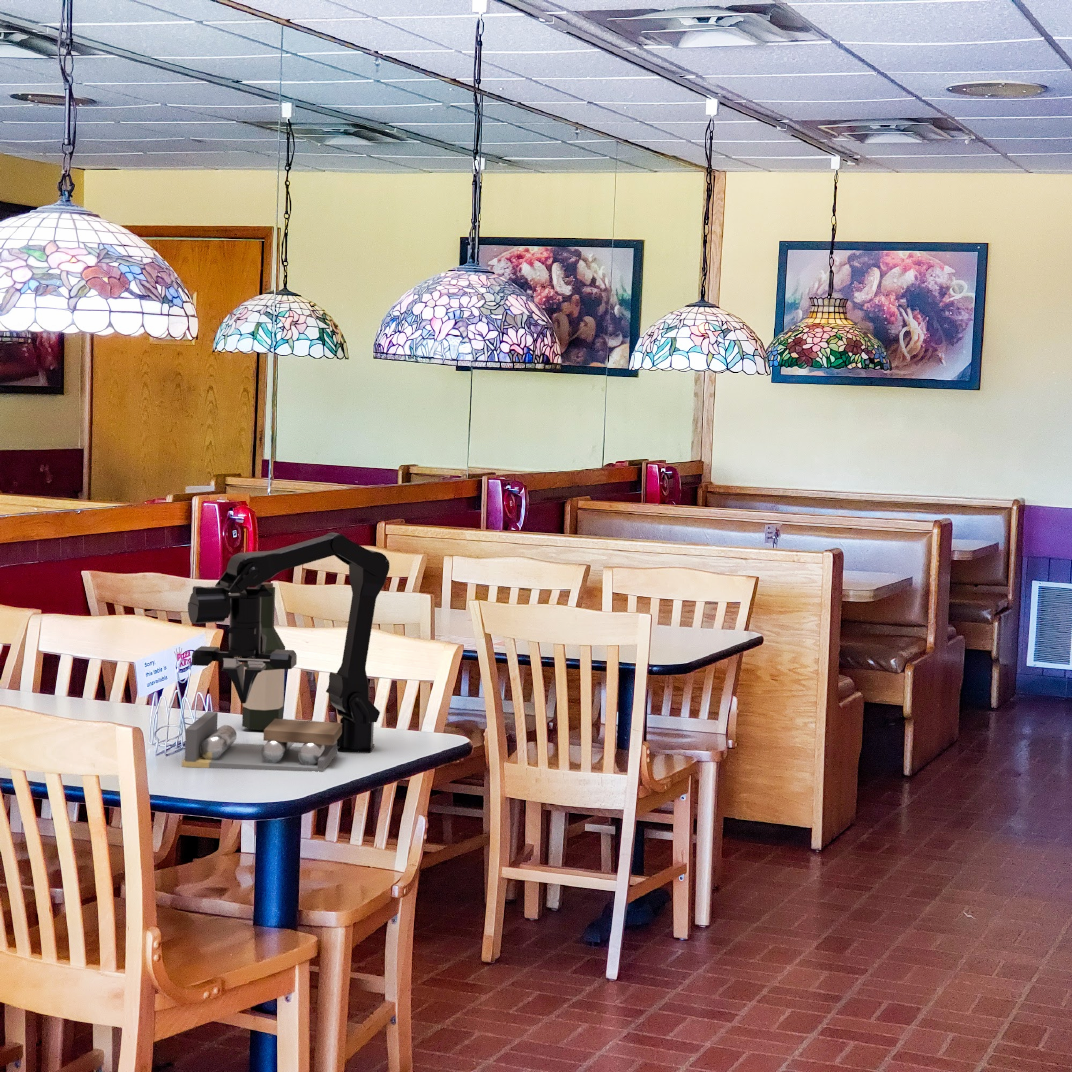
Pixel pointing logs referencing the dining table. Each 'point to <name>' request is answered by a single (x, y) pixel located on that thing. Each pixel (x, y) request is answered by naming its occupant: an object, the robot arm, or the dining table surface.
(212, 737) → the roller
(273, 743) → the roller
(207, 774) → the dining table surface
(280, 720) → the slab
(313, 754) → the roller
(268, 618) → the wine bottle
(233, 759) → the track board
